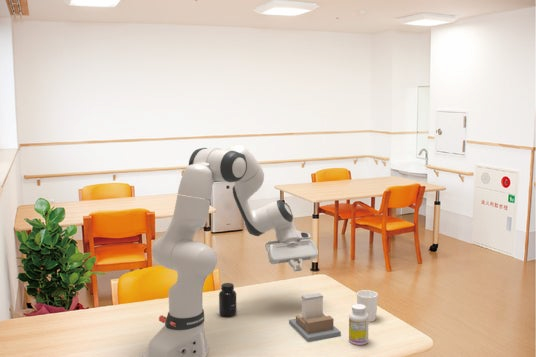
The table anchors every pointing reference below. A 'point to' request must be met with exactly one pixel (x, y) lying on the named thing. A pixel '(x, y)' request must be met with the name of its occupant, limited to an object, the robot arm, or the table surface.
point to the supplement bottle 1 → (227, 300)
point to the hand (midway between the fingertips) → (298, 270)
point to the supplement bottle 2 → (358, 325)
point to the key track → (314, 335)
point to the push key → (312, 306)
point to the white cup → (368, 302)
